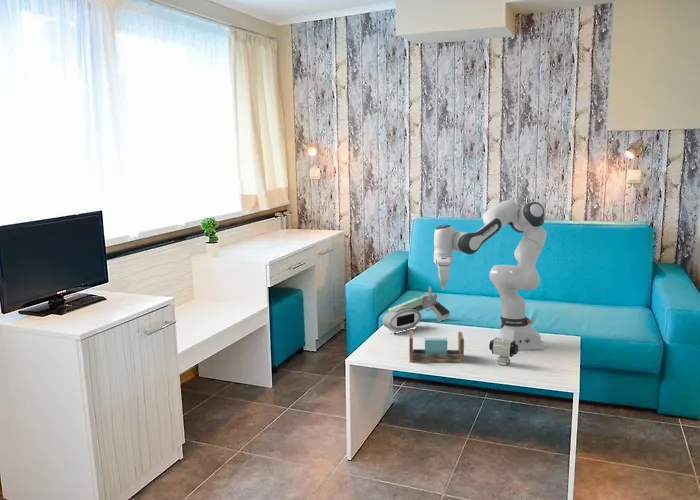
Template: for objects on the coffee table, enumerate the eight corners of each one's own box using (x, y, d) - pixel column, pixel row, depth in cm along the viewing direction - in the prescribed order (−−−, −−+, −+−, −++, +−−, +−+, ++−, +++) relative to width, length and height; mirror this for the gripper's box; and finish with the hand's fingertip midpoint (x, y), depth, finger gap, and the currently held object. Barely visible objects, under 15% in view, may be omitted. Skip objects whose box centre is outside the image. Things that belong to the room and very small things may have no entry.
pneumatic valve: (492, 360, 268) (493, 334, 266) (518, 365, 261) (518, 338, 260) (487, 364, 263) (488, 337, 262) (513, 368, 257) (514, 341, 255)
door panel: (446, 355, 273) (446, 338, 272) (447, 357, 270) (447, 340, 269) (424, 354, 274) (424, 338, 273) (425, 357, 271) (425, 340, 270)
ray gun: (451, 317, 334) (438, 285, 333) (398, 338, 338) (385, 306, 336) (450, 314, 342) (437, 282, 340) (398, 334, 345) (385, 303, 343)
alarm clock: (390, 335, 310) (390, 311, 308) (382, 333, 314) (382, 309, 313) (421, 327, 324) (421, 305, 322) (413, 325, 329) (413, 303, 327)
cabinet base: (461, 354, 277) (461, 331, 275) (463, 363, 265) (463, 339, 263) (409, 353, 279) (409, 331, 278) (409, 362, 267) (409, 338, 266)
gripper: (435, 255, 295) (435, 283, 297) (437, 262, 275) (437, 291, 277) (448, 255, 294) (448, 283, 296) (451, 262, 274) (450, 291, 276)
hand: (442, 287), depth 286 cm, fingers open, 8 cm apart
